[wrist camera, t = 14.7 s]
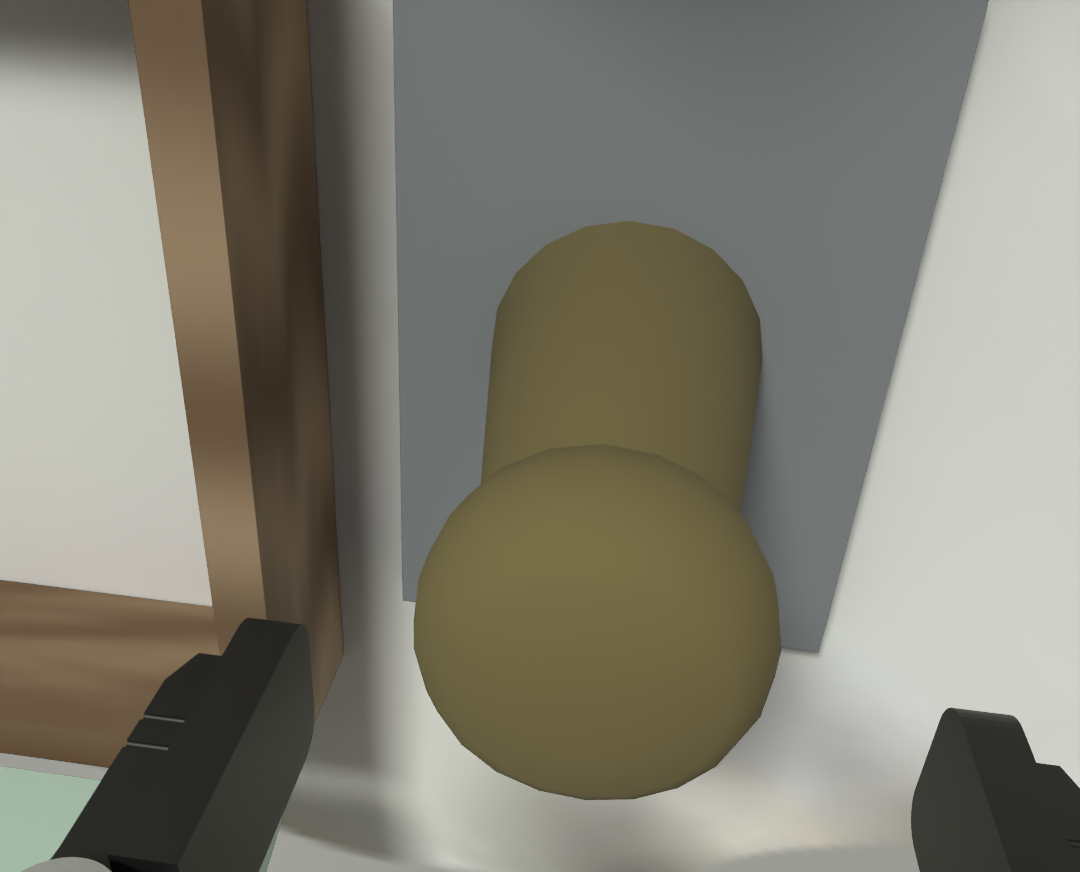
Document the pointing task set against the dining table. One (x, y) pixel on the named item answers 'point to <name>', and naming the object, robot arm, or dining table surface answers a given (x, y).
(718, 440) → the cork
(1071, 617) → the dining table surface
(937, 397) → the dining table surface
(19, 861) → the lid
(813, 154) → the mat
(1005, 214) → the dining table surface
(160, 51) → the cold frame
